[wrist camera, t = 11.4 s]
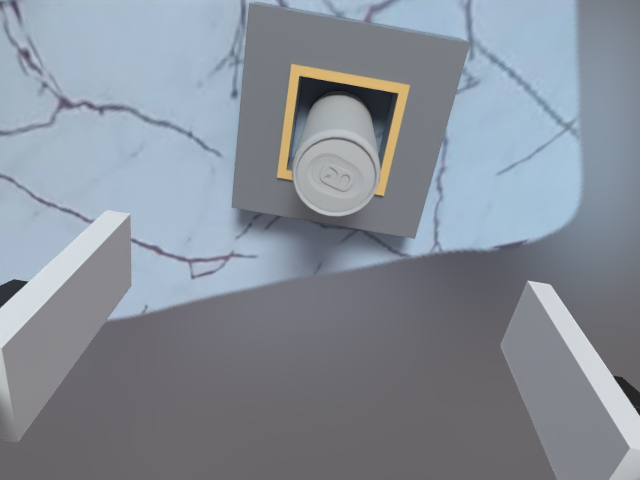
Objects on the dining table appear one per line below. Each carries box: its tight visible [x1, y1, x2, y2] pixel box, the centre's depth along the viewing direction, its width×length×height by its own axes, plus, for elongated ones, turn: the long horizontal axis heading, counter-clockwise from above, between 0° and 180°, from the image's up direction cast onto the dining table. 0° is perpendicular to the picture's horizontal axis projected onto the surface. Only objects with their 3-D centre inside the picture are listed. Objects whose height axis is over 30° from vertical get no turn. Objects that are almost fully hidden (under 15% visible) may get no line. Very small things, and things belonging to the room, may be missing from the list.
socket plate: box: [232, 2, 470, 239], centre depth 35 cm, size 14×14×3 cm
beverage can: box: [292, 91, 381, 217], centre depth 31 cm, size 5×5×12 cm
